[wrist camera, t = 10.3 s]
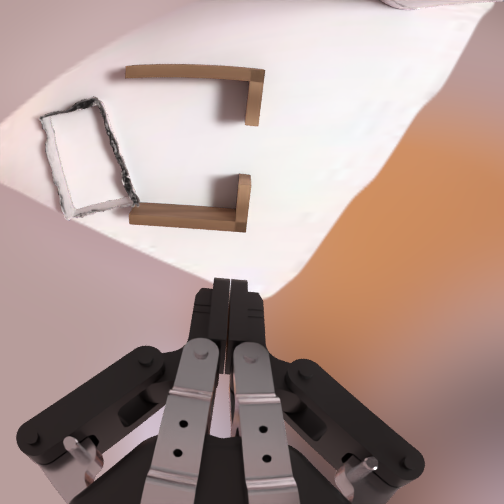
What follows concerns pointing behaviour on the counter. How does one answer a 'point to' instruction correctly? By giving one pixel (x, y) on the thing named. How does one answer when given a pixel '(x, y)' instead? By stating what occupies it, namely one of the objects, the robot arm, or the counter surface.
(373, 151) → the counter surface
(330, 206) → the counter surface
